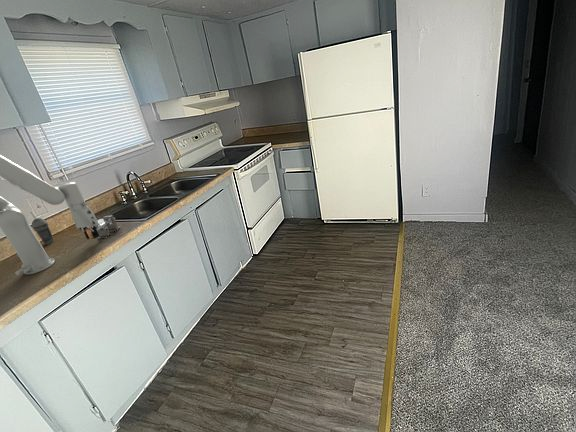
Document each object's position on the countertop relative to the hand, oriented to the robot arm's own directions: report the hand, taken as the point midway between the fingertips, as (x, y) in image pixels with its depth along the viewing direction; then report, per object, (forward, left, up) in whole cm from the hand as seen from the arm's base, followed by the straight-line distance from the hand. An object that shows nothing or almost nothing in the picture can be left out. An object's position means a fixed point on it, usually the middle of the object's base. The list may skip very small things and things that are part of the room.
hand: (93, 237), depth 163 cm
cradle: (+6, 0, -3) cm, 7 cm away
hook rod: (+8, 0, 0) cm, 8 cm away
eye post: (+14, 0, -3) cm, 15 cm away
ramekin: (+16, +11, -4) cm, 20 cm away
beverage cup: (+5, +37, -4) cm, 38 cm away
